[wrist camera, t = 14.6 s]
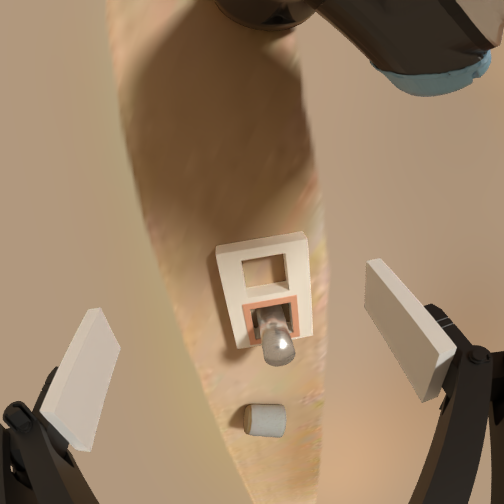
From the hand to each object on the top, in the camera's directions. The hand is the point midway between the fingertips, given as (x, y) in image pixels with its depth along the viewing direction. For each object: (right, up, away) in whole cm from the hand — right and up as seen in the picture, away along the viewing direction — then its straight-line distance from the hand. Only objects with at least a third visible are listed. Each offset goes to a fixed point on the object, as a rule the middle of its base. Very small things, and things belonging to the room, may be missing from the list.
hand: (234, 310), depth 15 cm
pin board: (+3, -3, +36) cm, 36 cm away
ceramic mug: (+3, -33, +50) cm, 60 cm away
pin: (+4, -7, +38) cm, 38 cm away
